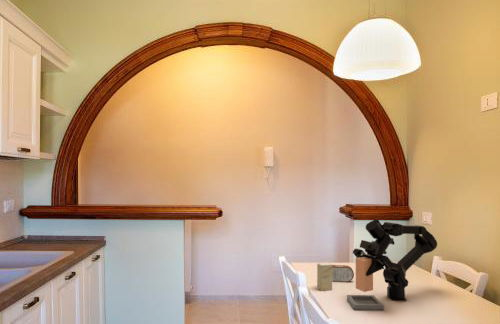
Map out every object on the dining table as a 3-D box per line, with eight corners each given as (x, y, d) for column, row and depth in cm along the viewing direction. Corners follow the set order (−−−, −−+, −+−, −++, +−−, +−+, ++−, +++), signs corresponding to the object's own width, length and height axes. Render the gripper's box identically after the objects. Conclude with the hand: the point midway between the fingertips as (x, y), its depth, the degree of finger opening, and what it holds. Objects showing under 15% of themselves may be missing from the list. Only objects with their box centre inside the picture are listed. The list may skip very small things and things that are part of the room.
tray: (374, 300, 156) (374, 295, 156) (383, 310, 144) (383, 305, 144) (346, 300, 156) (346, 294, 156) (354, 310, 144) (354, 304, 144)
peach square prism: (364, 286, 153) (364, 256, 154) (373, 290, 149) (372, 259, 149) (355, 288, 151) (355, 258, 152) (364, 291, 147) (363, 260, 147)
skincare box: (321, 291, 168) (320, 265, 168) (316, 288, 172) (316, 263, 173) (332, 290, 170) (332, 264, 170) (328, 287, 174) (328, 262, 174)
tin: (353, 281, 185) (353, 265, 185) (354, 283, 181) (354, 266, 182) (324, 280, 186) (324, 264, 186) (325, 282, 183) (324, 265, 183)
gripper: (355, 230, 161) (336, 257, 156) (387, 236, 144) (367, 267, 139) (368, 246, 164) (350, 273, 159) (401, 254, 148) (382, 284, 142)
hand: (361, 273), depth 150 cm, fingers closed on peach square prism, 5 cm apart
